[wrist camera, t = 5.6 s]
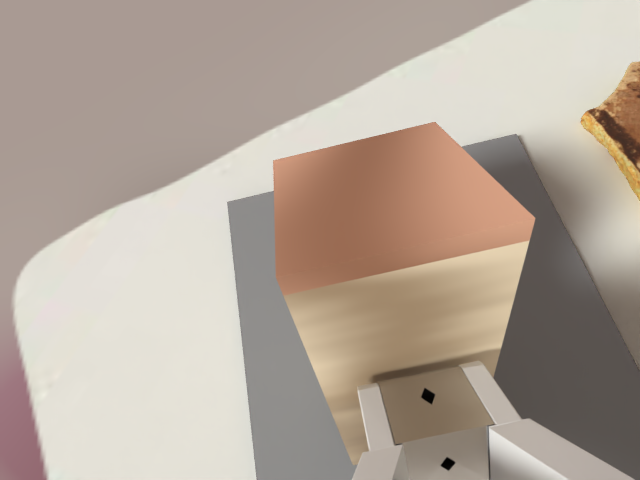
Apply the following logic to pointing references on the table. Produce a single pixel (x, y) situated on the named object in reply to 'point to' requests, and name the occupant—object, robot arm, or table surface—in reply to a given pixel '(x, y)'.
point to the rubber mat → (514, 359)
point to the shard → (620, 125)
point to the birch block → (394, 262)
